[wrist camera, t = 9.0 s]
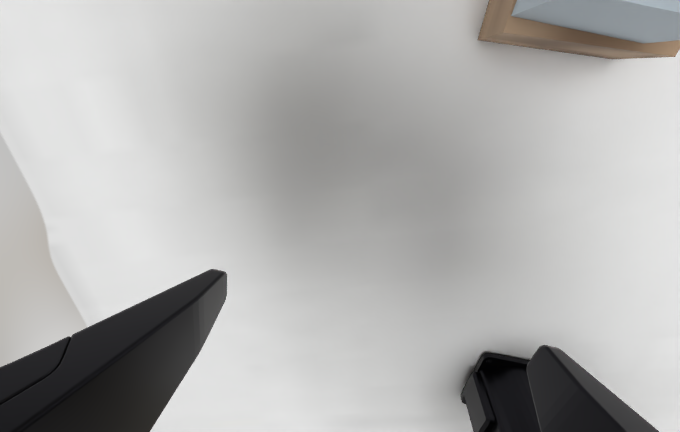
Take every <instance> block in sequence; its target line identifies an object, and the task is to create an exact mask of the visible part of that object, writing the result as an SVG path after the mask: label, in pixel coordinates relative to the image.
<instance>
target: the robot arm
mask: <svg viewBox="0 0 680 432" xmlns="http://www.w3.org/2000/svg"><path fill="white" fill-rule="evenodd" d="M226 296H227V274H226V272H224V271H220V270H216V269H211V270H208V271H206V272H204V273H202V274H200V275H198V276H196V277H193V278H191V279H189V280H187V281H185V282H183V283H181V284H179V285H177V286H174V287H172V288H170V289H168V290H166V291H164V292H162V293H160V294H157V295H155V296H153V297H151V298H149V299H147V300H145V301H143V302H141V303H138V304H136V305H134V306H132V307H130V308H128V309H126V310H124V311H122V312H119V313H117V314H115V315H113V316H111V317H109V318H107V319H105V320H102V321H100V322H98V323H96V324H94V325H92V326H90V327H88V328H86V329H83V330H81V331H79V332H77V333H75V334H73V335H72V337H66V338H64V339H62V340H60V341H58V342H56V343H54V344H51V345H49V346H47V347H45V348H43V349H41V350H38V351H36V352H34V353H32V354H29V355H27V356H25V357H23V358H21V359H18V360H16V361H14V362H12V363H10V364H7V365H5V366H2V367H0V432H150V430H151V429H152V427H153V426H154V424H155V422H156V421H157V419H158V418H159V416H160V414H161V413H162V411H163V410H164V408H165V407H166V405H167V403H168V402H169V400H170V399H171V397H172V395H173V394H174V392H175V391H176V389H177V387H178V386H179V384H180V383H181V381H182V380H183V378H184V376H185V375H186V373H187V372H188V370H189V368H190V367H191V365H192V364H193V362H194V361H195V359H196V357H197V356H198V354H199V352H200V351H201V349H202V347H203V345H204V343H205V341H206V339H207V337H208V335H209V333H210V331H211V329H212V327H213V325H214V323H215V321H216V318H217V316H218V314H219V312H220V310H221V308H222V306H223V304H224V302H225V300H226ZM461 400H462V402H463V403H464V404H467V408H468V412H469V416H470V420H471V424H472V427H473V431H474V432H659V431H658V430H657V429H655V428H654V427H653V426H652V425H651V424H649V423H648V422H647V421H646V420H645V419H643V418H642V417H641V416H640V415H639V414H637V413H636V412H635V411H634V410H633V409H631V408H630V407H629V406H628V405H627V404H625V403H624V402H623V401H622V400H621V399H619V398H618V397H617V396H616V395H615V394H613V393H612V392H611V391H610V390H609V389H607V388H606V387H605V386H604V385H603V384H601V383H600V382H599V381H598V380H597V379H595V378H594V377H593V376H592V375H591V374H589V373H588V372H587V371H586V370H585V369H583V368H582V367H581V366H580V365H579V364H577V363H576V362H575V361H574V360H573V359H571V358H570V357H569V356H568V355H567V354H565V353H564V352H563V351H562V350H560V349H559V348H556V347H551V346H547V345H542V346H540V347H539V348H538V350H537V351H536V352H535V354H534V355H533V357H532V358H531V360H530V361H527V360H522V359H517V358H512V357H507V356H502V355H497V354H492V353H485V354H483V355H482V357H481V358H480V360H479V362H478V364H477V366H476V368H475V370H474V372H473V373H472V374H471V376H470V378H469V380H468V381H467V383H466V385H465V387H464V389H463V392H462V394H461Z"/></svg>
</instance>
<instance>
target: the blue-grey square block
mask: <svg viewBox="0 0 680 432" xmlns="http://www.w3.org/2000/svg"><path fill="white" fill-rule="evenodd" d="M511 16H513V17H518V18H523V19H527V20H532V21H537V22H542V23H547V24H552V25H556V26H561V27H566V28H571V29H576V30H581V31H585V32H590V33H595V34H600V35H605V36H609V37H614V38H619V39H624V40H629V41H634V42H638V43H643V44H644V43H655V42H666V41H676V40H680V0H517V1H516V4H515V7H514V9H513V12H512V15H511Z"/></svg>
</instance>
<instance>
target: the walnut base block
mask: <svg viewBox="0 0 680 432" xmlns="http://www.w3.org/2000/svg"><path fill="white" fill-rule="evenodd" d="M516 1H517V0H489V3H488V7H487V10H486V13H485V17H484V20H483V23H482V27H481V30H480V34H479V37H478V40H482V41H489V42H496V43H503V44H510V45H517V46H524V47H531V48H538V49H545V50H552V51H559V52H566V53H573V54H580V55H587V56H594V57H601V58H608V59H628V58H655V57H675V56H676V54H677V52H678V50H679V49H680V40H676V41H666V42H655V43H644V44H643V43H638V42H634V41H629V40H624V39H619V38H614V37H609V36H605V35H600V34H595V33H590V32H585V31H581V30H576V29H571V28H566V27H561V26H556V25H552V24H547V23H542V22H537V21H532V20H527V19H523V18H518V17H513V16H511V15H512V12H513V9H514V7H515V4H516Z"/></svg>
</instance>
